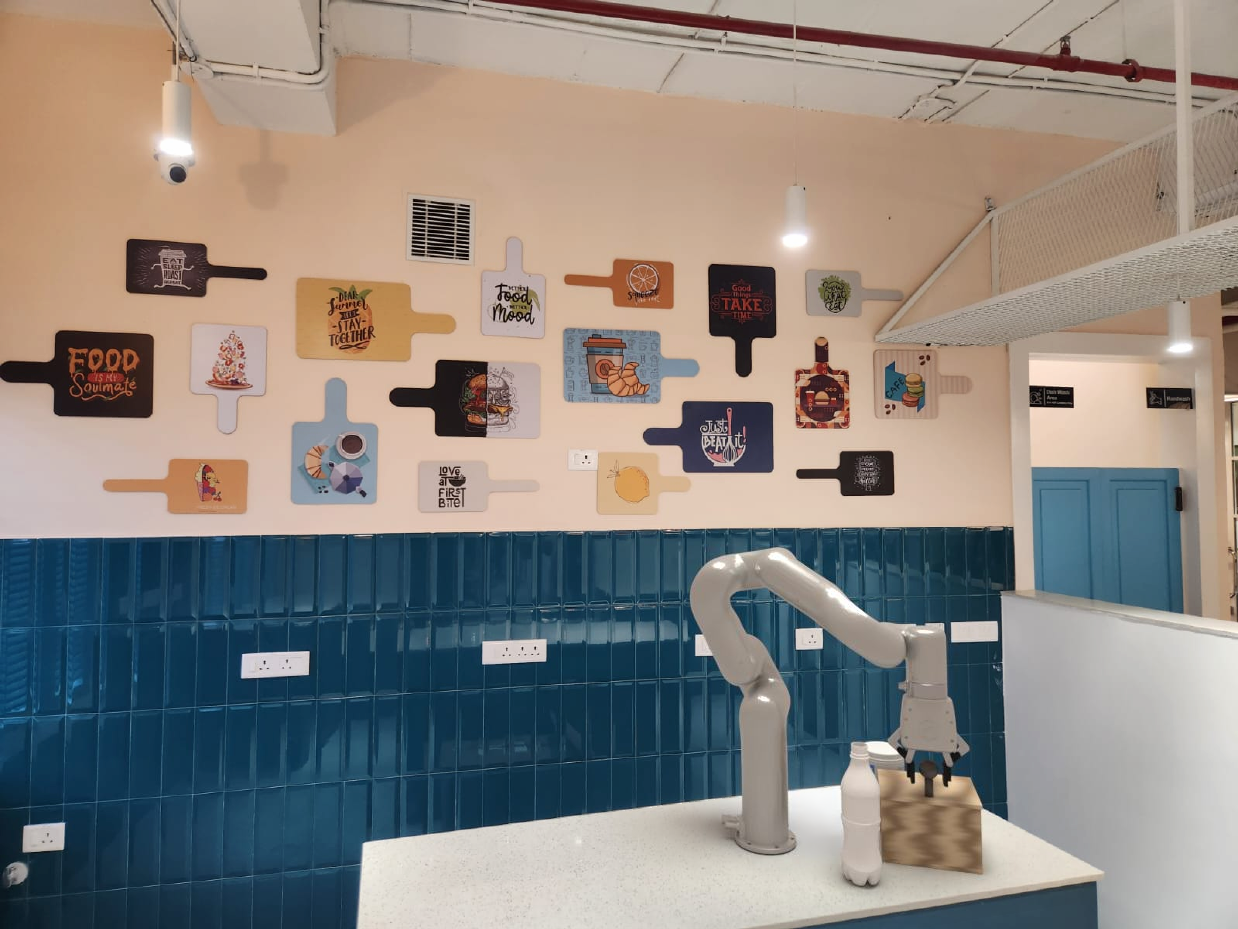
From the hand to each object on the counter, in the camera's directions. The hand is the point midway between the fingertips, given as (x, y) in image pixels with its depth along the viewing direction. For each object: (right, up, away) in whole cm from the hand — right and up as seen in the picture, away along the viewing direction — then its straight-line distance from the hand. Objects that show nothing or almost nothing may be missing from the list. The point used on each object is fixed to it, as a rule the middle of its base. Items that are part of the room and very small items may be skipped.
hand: (928, 782), depth 149 cm
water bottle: (-15, -16, -7) cm, 23 cm away
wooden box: (+2, -16, +5) cm, 17 cm away
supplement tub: (-1, -17, +23) cm, 29 cm away
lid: (+2, -4, +5) cm, 6 cm away
